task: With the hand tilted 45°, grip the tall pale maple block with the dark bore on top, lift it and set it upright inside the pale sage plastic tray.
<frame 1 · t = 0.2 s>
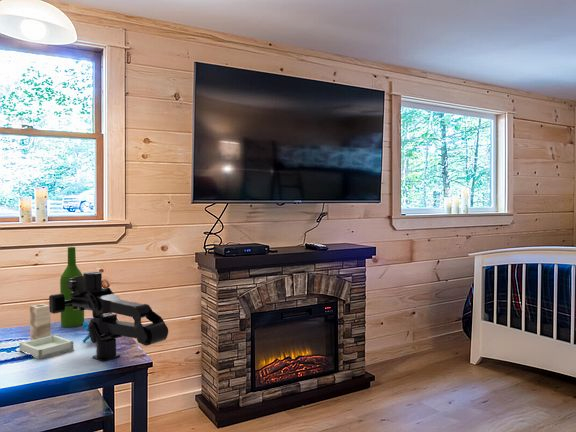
hand: (64, 297, 171), 17 cm above the table, tool horizontal, fingers open, 9 cm apart
maple block: (40, 340, 176), on the table
gear: (93, 341, 175), on the table
sage tray: (46, 350, 164), on the table
wine bottle: (72, 324, 198), on the table
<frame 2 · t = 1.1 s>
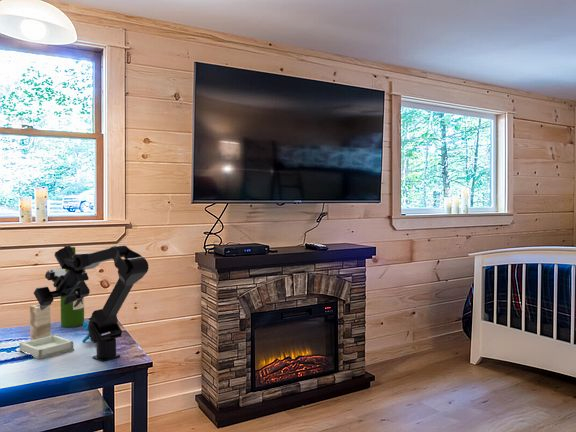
hand: (53, 306, 172), 14 cm above the table, tool tilted 45°, fingers open, 9 cm apart
nothing on the table moved.
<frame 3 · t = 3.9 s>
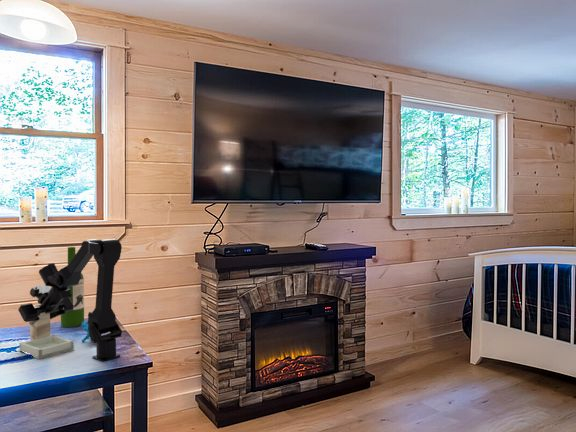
hand: (38, 322, 177), 7 cm above the table, tool tilted 45°, fingers closed on maple block, 6 cm apart
maple block: (40, 340, 176), on the table, touching gripper
everything else where it was.
when the fingers open (9 cm above the table, at t = 10.5 s): maple block drops 1 cm, resting on sage tray.
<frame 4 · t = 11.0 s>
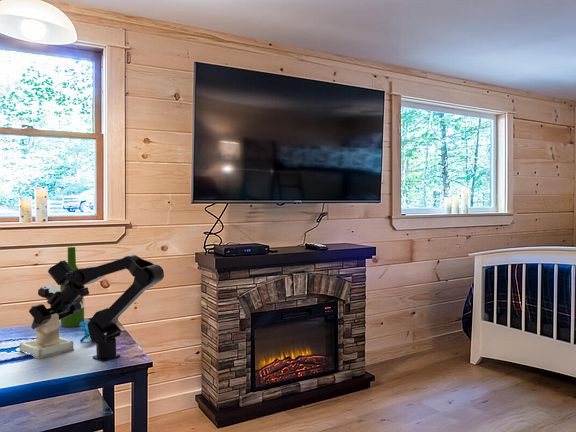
hand: (43, 324, 164), 9 cm above the table, tool tilted 45°, fingers open, 9 cm apart
maple block: (48, 347, 164), point 1 cm above the table, touching sage tray
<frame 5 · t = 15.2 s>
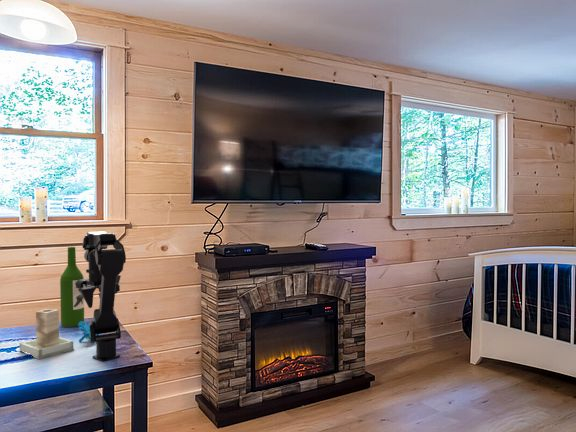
hand: (97, 309, 170), 13 cm above the table, tool pointing down, fingers open, 9 cm apart
at the end: maple block inside the target area on the sage tray (0.4 cm from its centre), point 1.0 cm above the sage tray's base; maple block tilted 0°; the gripper is holding nothing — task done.
